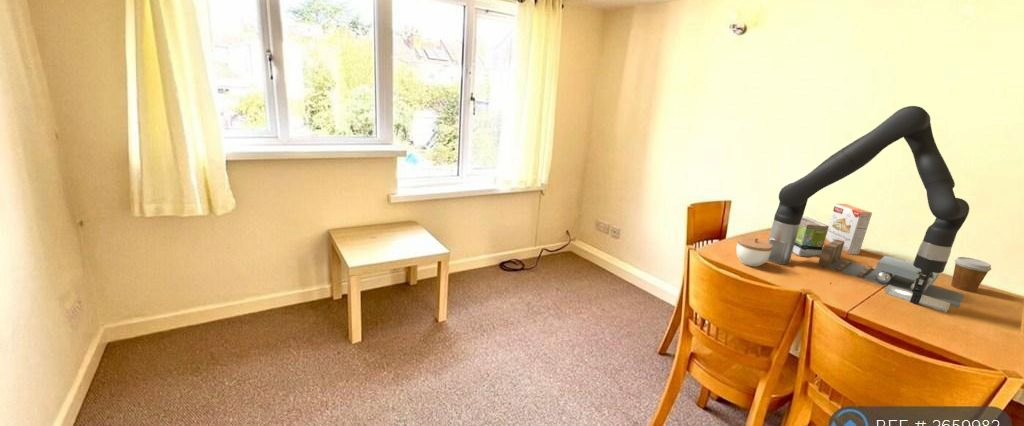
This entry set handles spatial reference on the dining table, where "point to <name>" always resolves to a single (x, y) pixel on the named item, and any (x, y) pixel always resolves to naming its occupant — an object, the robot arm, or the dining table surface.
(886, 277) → the bed rollers
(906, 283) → the mat
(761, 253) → the lidded bowl
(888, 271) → the slab
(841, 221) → the cracker box
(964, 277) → the disposable coffee cup
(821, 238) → the tea box
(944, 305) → the roller
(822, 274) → the dining table surface
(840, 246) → the wooden stops
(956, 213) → the robot arm
